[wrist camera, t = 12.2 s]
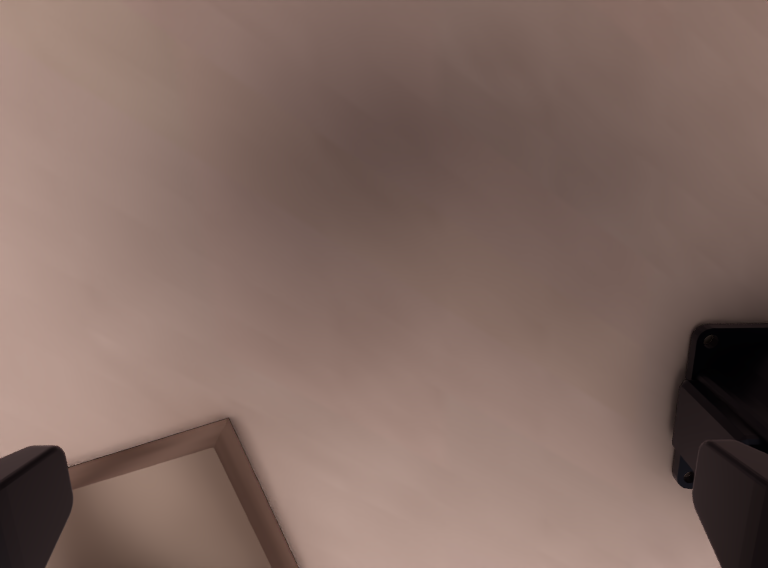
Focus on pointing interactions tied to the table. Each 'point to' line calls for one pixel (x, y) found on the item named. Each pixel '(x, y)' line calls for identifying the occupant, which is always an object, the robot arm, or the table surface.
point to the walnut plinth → (172, 508)
